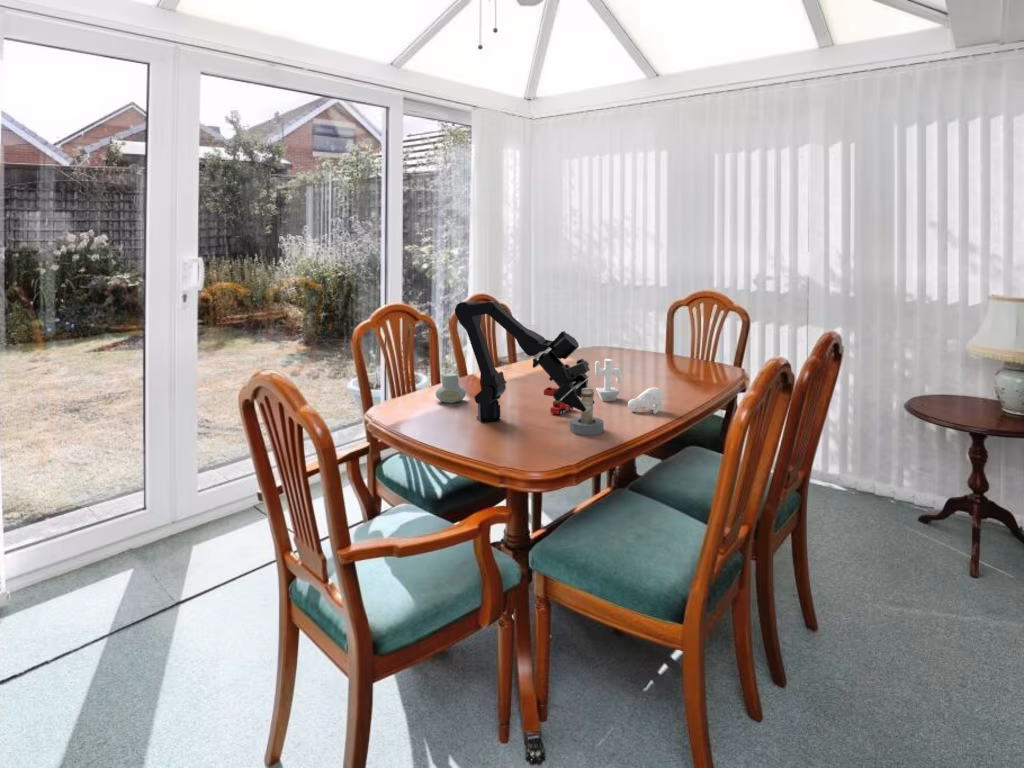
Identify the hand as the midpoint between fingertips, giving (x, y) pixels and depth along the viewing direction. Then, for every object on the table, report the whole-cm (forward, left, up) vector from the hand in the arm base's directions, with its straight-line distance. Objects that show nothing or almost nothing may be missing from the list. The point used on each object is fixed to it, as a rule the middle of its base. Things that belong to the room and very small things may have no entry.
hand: (589, 407), depth 195 cm
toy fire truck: (-1, +22, -8) cm, 24 cm away
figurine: (+23, +34, -8) cm, 42 cm away
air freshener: (-32, +50, -8) cm, 60 cm away
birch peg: (-1, 0, -7) cm, 8 cm away
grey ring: (-1, 0, -7) cm, 7 cm away
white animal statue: (+27, +14, -8) cm, 32 cm away
